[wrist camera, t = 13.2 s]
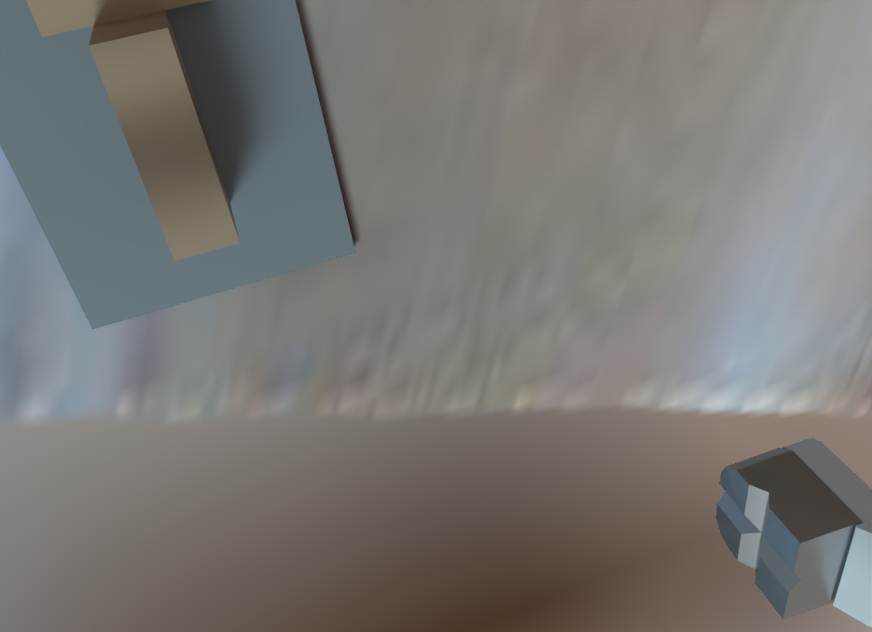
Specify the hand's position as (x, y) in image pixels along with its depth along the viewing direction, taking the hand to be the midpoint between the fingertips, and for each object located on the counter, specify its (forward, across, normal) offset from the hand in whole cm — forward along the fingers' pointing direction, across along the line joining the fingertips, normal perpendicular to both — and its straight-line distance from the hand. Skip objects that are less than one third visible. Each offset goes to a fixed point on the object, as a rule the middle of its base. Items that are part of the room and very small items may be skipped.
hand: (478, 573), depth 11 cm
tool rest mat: (+24, +5, -2) cm, 25 cm away
